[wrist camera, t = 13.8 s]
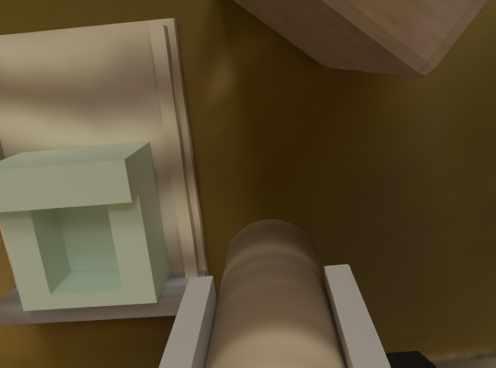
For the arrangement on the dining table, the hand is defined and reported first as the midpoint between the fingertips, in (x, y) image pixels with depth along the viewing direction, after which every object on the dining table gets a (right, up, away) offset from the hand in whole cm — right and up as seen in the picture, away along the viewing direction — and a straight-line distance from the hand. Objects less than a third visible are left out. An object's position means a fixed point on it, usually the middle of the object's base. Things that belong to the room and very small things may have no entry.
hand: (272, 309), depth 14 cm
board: (-13, +5, +20) cm, 25 cm away
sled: (-13, +2, +20) cm, 24 cm away
